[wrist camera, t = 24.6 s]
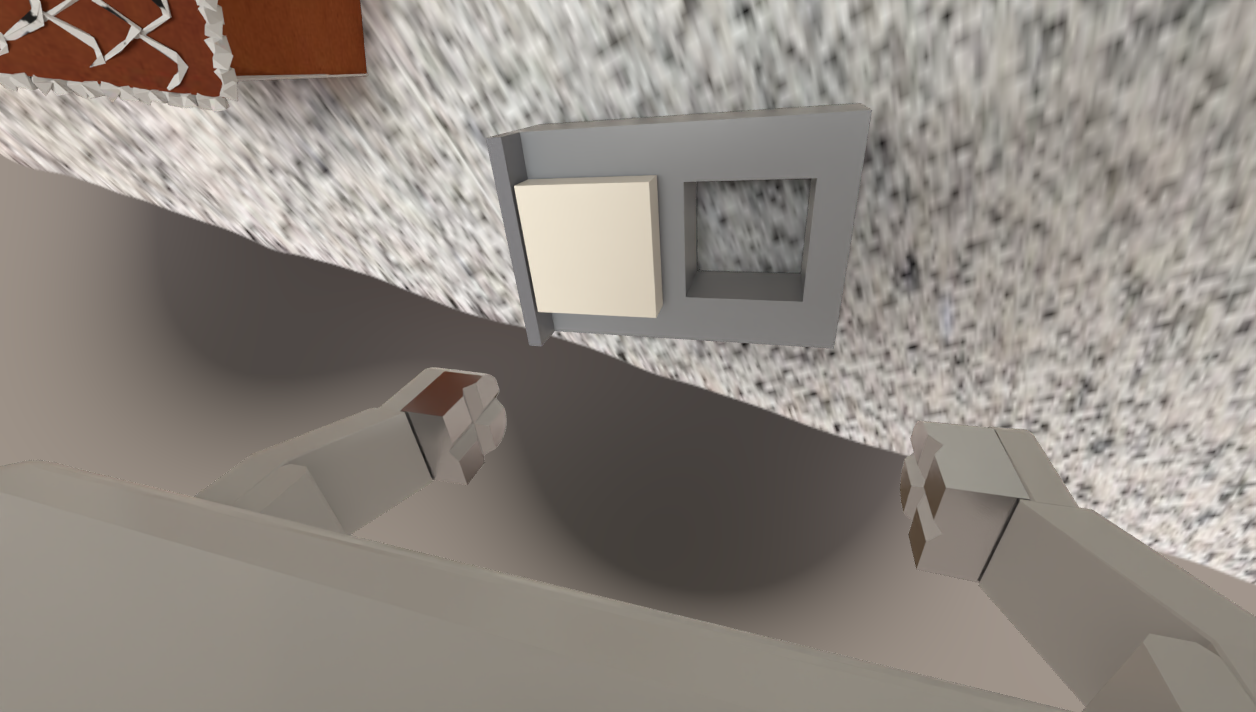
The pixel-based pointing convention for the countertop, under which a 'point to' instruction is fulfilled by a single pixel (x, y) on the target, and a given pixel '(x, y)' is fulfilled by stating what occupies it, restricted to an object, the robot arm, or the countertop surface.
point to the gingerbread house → (175, 46)
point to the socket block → (680, 158)
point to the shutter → (593, 244)
